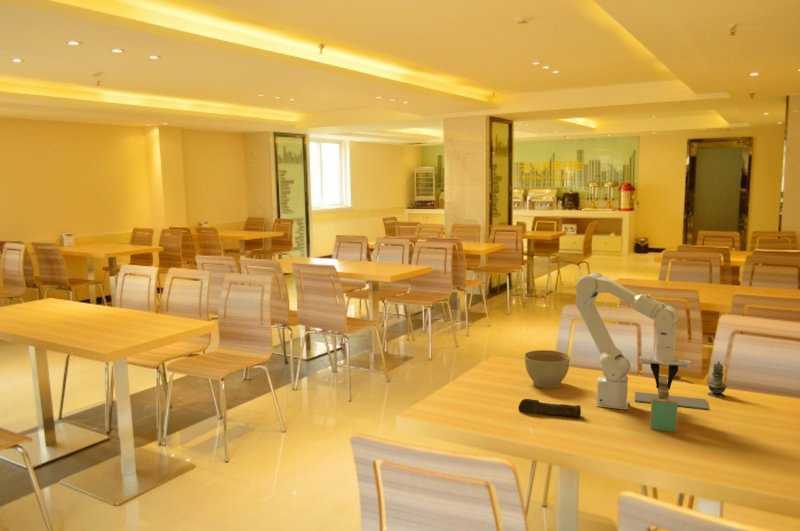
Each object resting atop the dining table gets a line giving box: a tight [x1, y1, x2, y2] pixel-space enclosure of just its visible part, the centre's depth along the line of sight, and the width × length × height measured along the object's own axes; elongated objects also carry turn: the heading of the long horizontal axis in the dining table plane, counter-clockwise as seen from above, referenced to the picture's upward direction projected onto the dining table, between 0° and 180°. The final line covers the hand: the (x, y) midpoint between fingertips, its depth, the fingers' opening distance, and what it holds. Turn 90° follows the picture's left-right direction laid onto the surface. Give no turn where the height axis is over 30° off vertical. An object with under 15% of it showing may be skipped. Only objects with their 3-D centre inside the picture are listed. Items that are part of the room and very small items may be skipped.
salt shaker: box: [707, 361, 728, 399], centre depth 208 cm, size 6×6×12 cm
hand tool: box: [518, 398, 582, 420], centre depth 192 cm, size 19×4×5 cm, turn 72°
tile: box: [649, 398, 678, 433], centre depth 178 cm, size 7×2×9 cm, turn 69°
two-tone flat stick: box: [657, 375, 670, 400], centre depth 190 cm, size 2×16×4 cm, turn 159°
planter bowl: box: [523, 349, 571, 389], centre depth 220 cm, size 16×16×11 cm
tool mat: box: [634, 391, 709, 411], centre depth 203 cm, size 22×9×1 cm, turn 69°
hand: (663, 388), depth 190 cm, fingers closed on two-tone flat stick, 2 cm apart
